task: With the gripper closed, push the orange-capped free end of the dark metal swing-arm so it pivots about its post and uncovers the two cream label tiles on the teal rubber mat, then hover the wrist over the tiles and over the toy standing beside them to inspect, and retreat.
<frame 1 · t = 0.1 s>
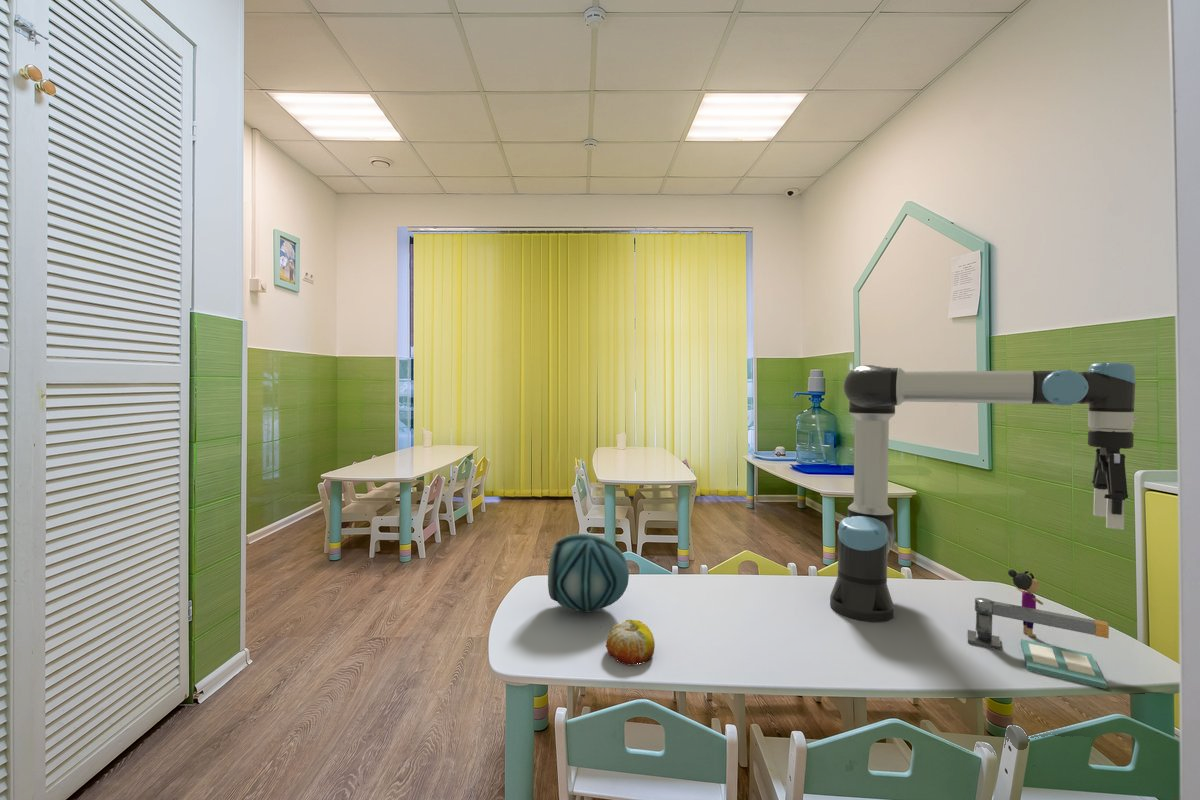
hand: (1107, 522, 121), 28 cm above the table, fingers open, 13 cm apart
mat: (1059, 664, 111), on the table
toy: (1023, 635, 125), on the table
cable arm: (1037, 616, 115), point 8 cm above the table, hinge at 0.0°
toy 2: (590, 611, 136), on the table
fruit: (630, 655, 114), on the table
post: (983, 641, 121), on the table
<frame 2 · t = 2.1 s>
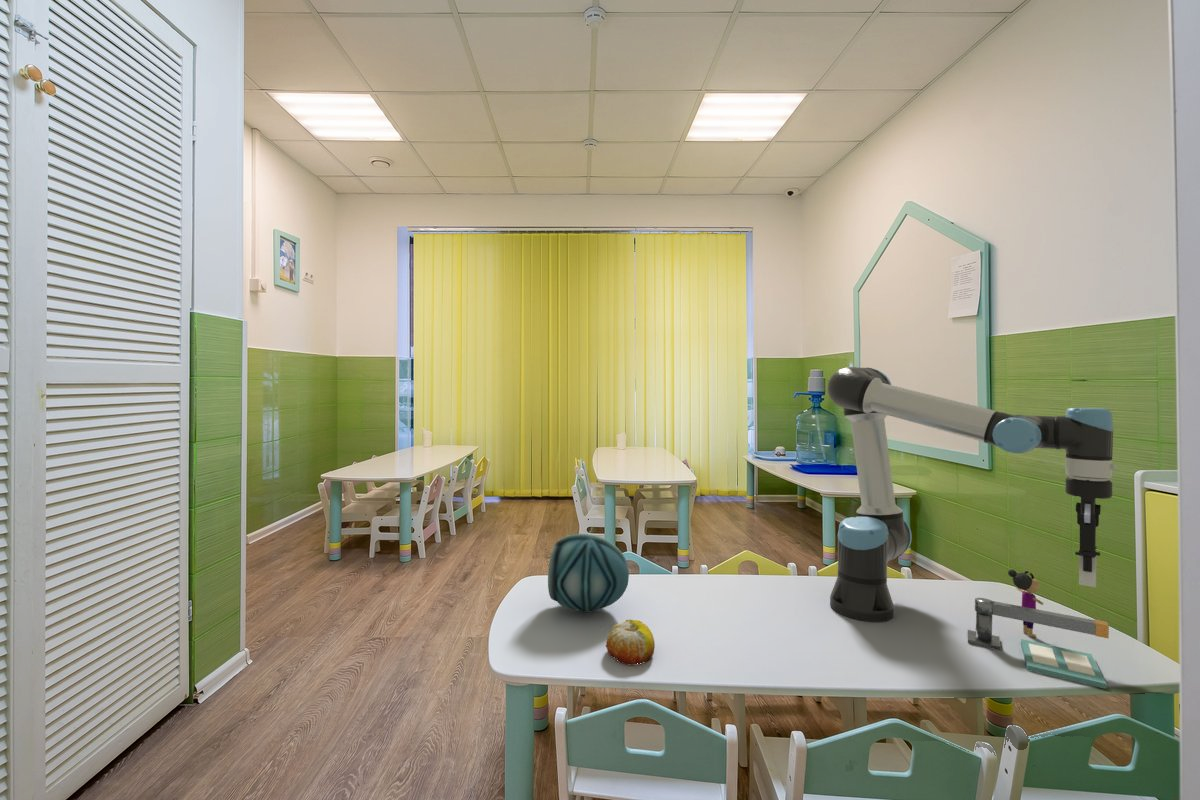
hand: (1087, 584, 115), 15 cm above the table, fingers closed
nothing on the table moved.
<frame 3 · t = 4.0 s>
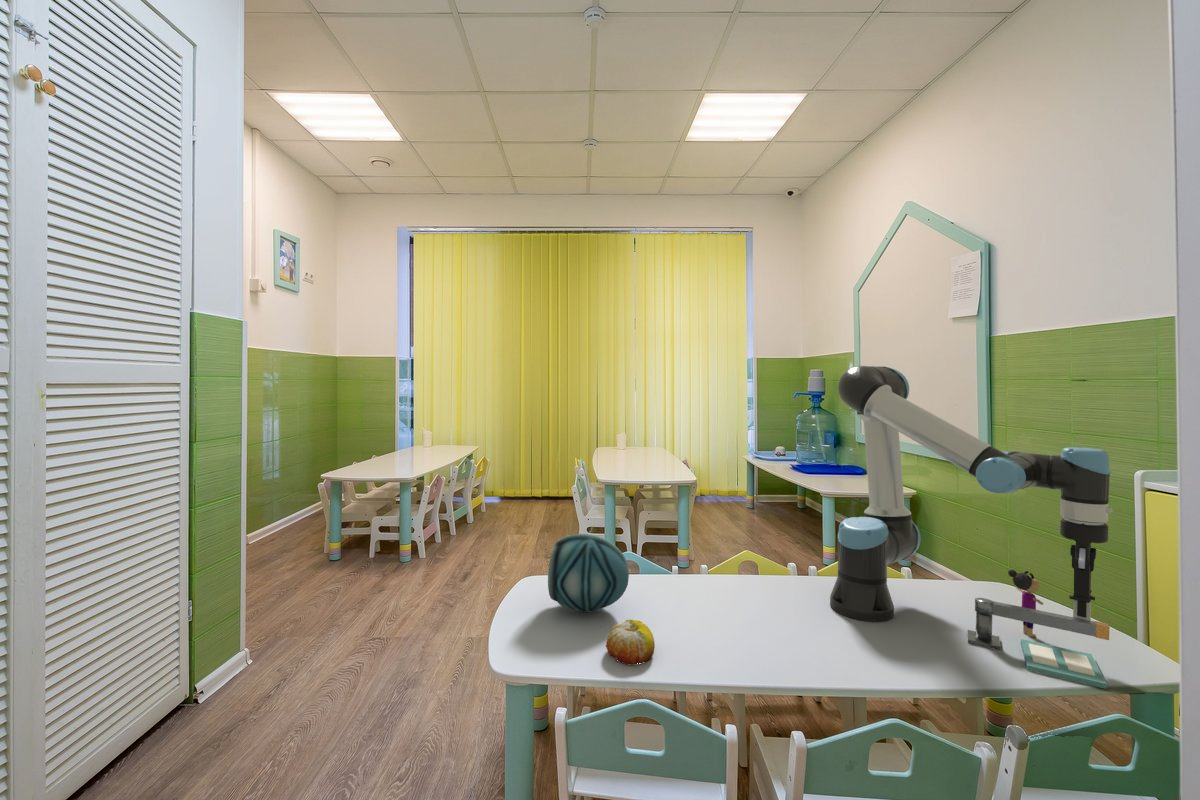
hand: (1081, 629, 112), 7 cm above the table, fingers closed
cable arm: (1037, 617, 115), point 8 cm above the table, hinge at -2.7°, touching gripper
everything else where it was.
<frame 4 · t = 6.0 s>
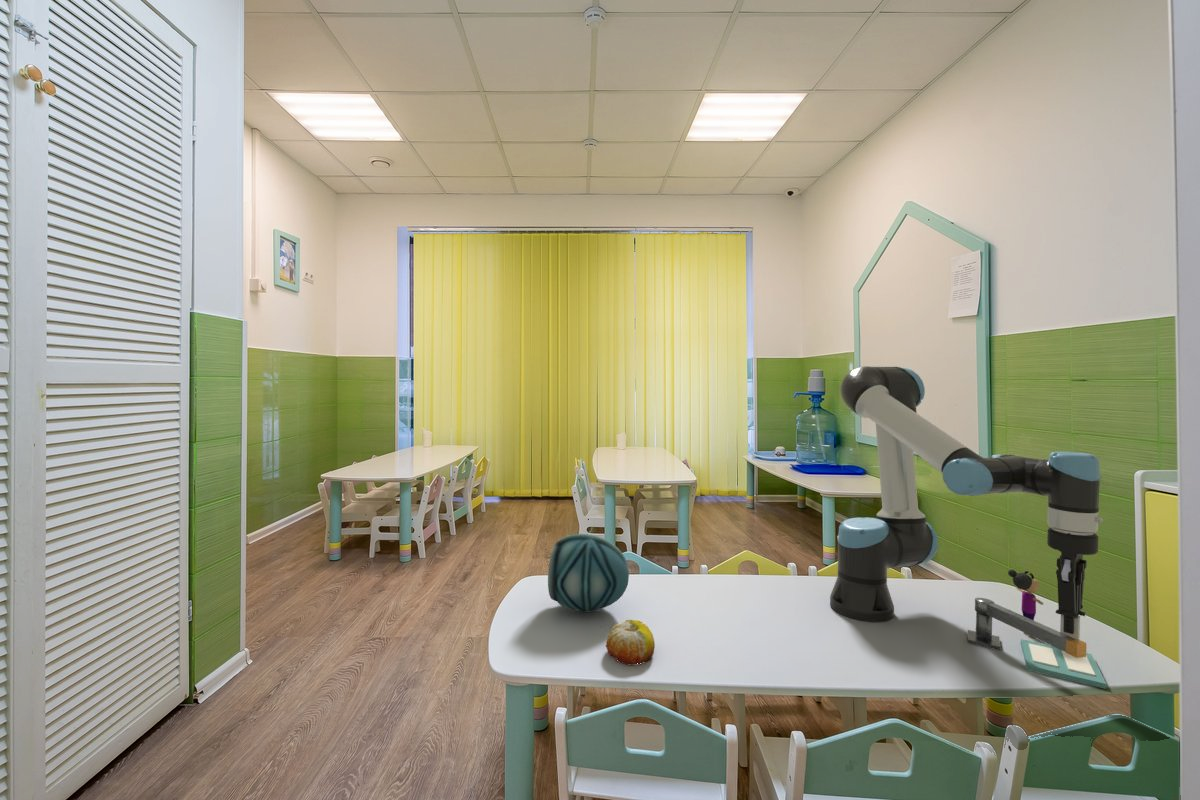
hand: (1069, 647, 105), 7 cm above the table, fingers closed
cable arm: (1024, 624, 112), point 8 cm above the table, hinge at -45.2°, touching gripper
everything else where it was.
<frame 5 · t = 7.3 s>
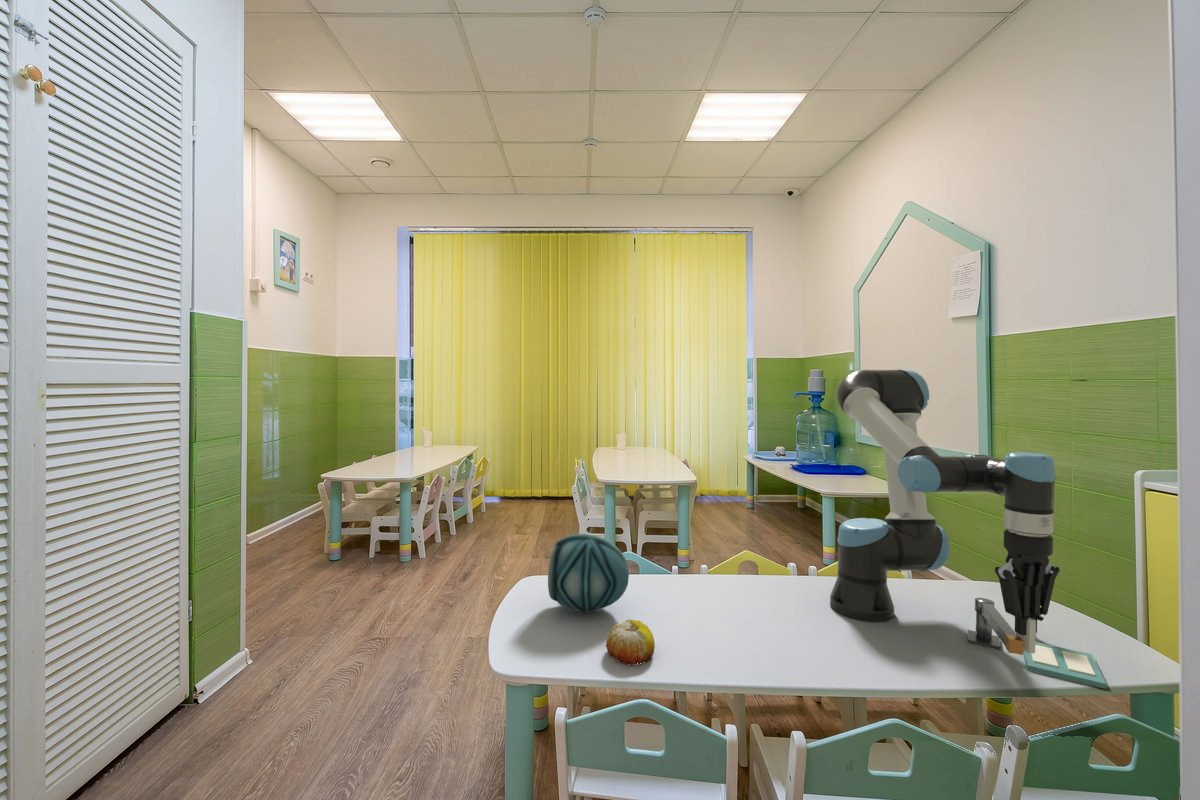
hand: (1025, 649, 104), 7 cm above the table, fingers closed
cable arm: (997, 623, 112), point 8 cm above the table, hinge at -77.9°, touching gripper
everything else where it was.
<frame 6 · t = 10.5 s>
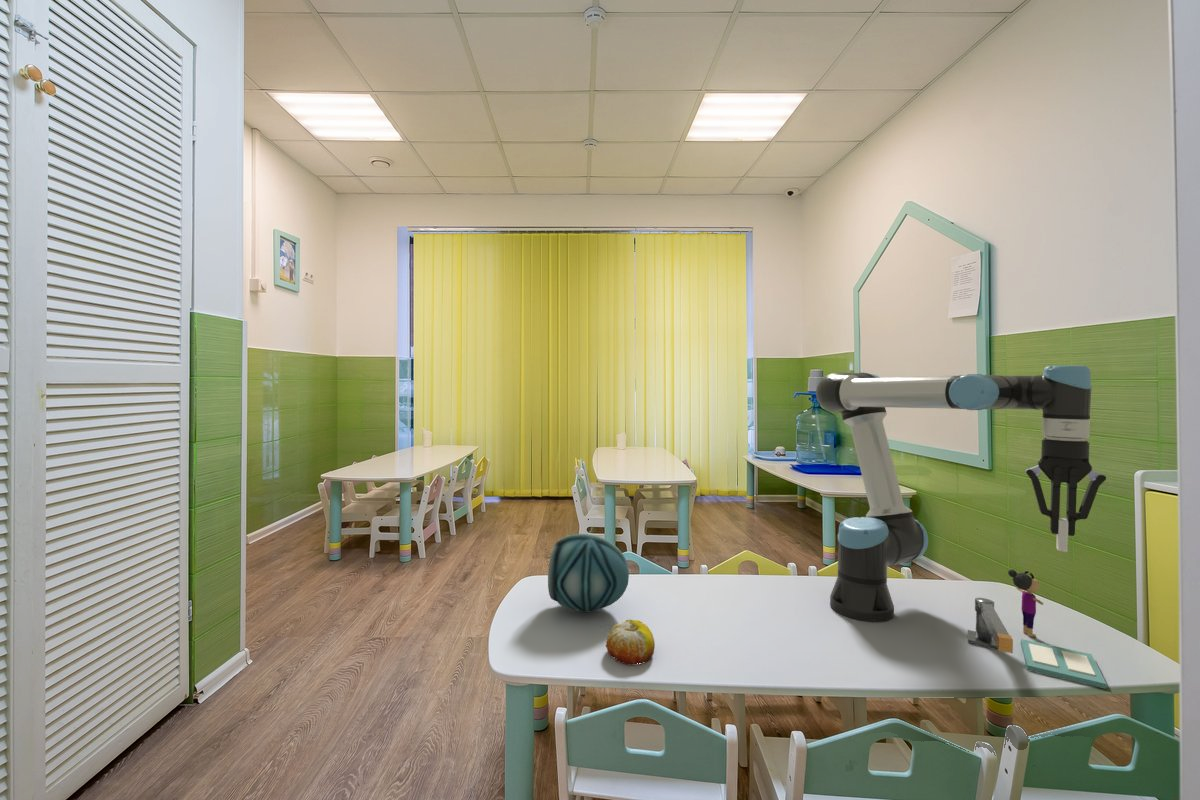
hand: (1061, 549, 111), 24 cm above the table, fingers closed
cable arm: (993, 622, 112), point 8 cm above the table, hinge at -82.4°
everything else where it was.
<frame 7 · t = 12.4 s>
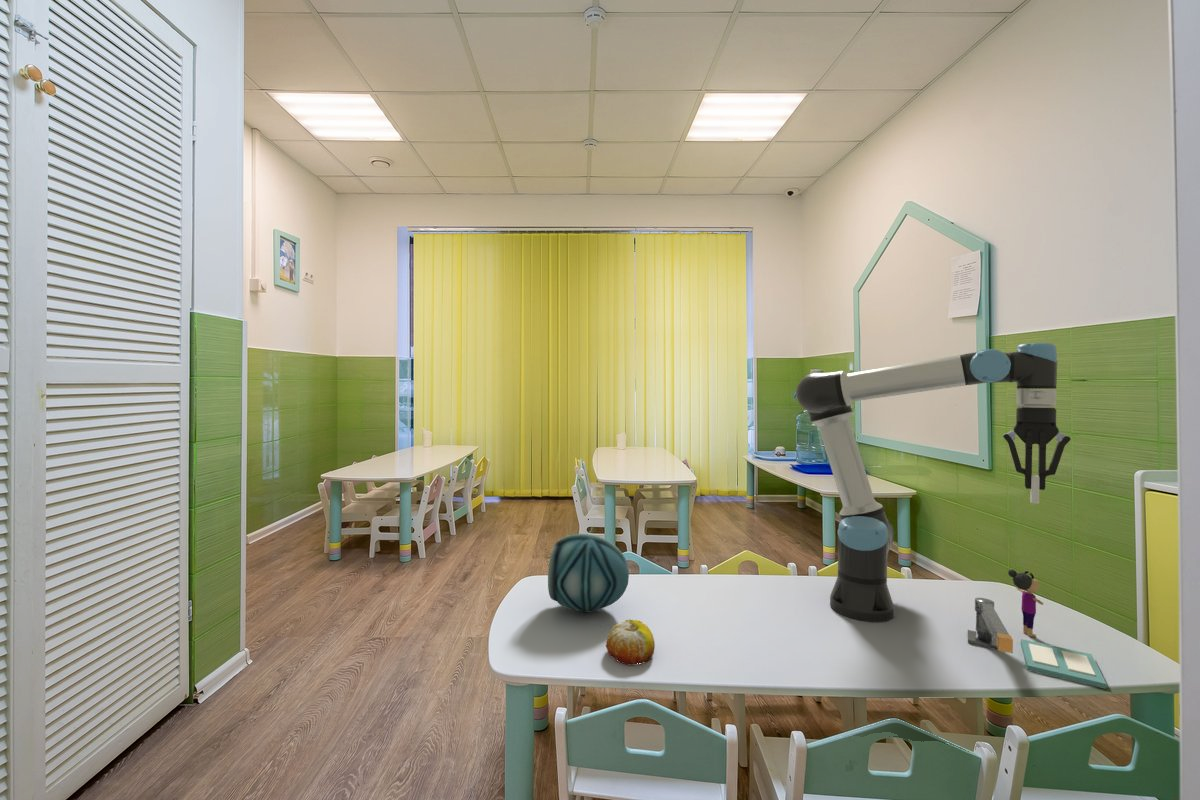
hand: (1034, 502, 129), 31 cm above the table, fingers closed
nothing on the table moved.
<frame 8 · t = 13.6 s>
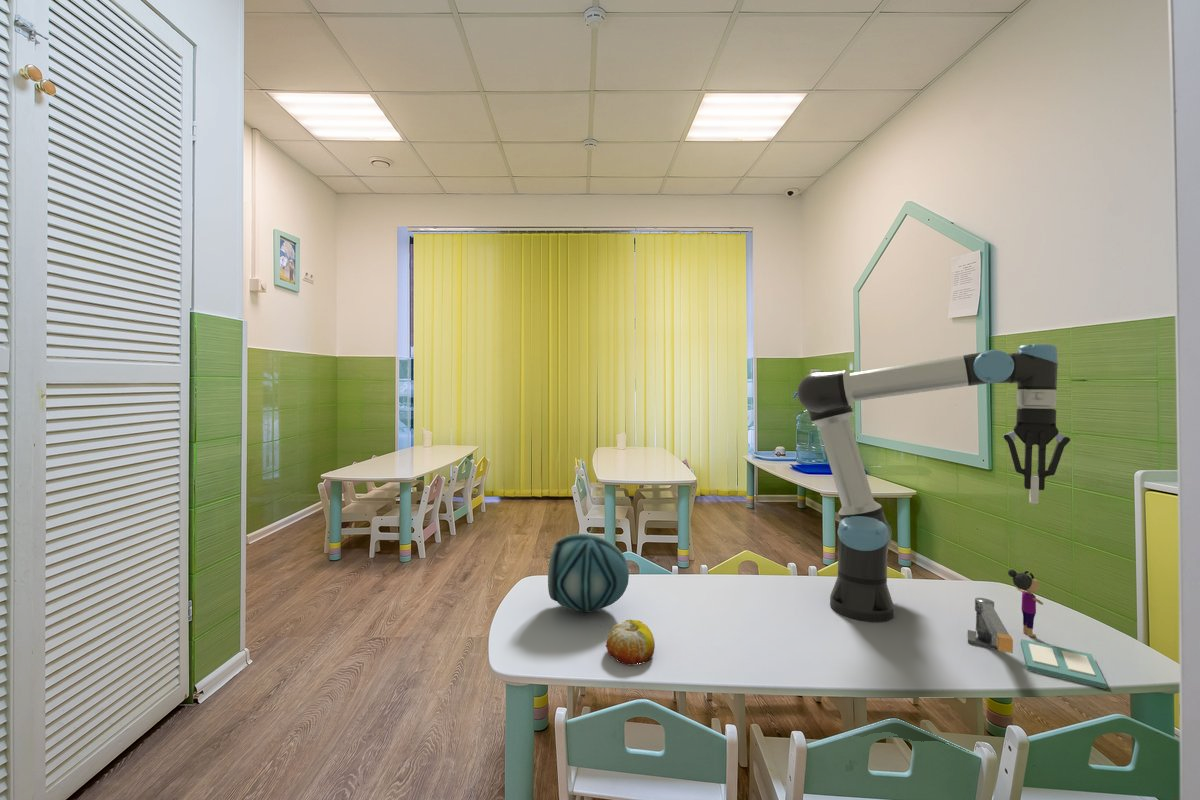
hand: (1033, 502, 129), 30 cm above the table, fingers closed
nothing on the table moved.
at the end: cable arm at -82° (first picture: +0°); toy moved 0.2 cm from its start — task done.
